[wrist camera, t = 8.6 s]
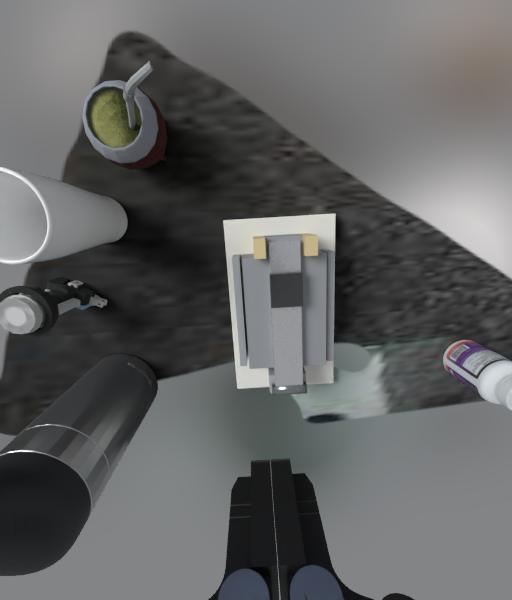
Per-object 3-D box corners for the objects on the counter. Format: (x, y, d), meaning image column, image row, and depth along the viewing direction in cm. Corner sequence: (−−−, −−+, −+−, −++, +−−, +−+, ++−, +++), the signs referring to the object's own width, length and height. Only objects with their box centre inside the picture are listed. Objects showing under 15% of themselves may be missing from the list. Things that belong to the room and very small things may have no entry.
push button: (113, 283, 36) (63, 305, 27) (104, 320, 38) (53, 354, 28) (60, 265, 36) (-10, 280, 26) (53, 303, 37) (-17, 332, 27)
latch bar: (304, 388, 35) (307, 397, 33) (271, 390, 35) (272, 399, 33) (302, 239, 30) (305, 240, 29) (264, 242, 30) (265, 243, 29)
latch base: (330, 377, 40) (346, 409, 33) (237, 382, 40) (235, 415, 33) (332, 214, 35) (352, 211, 28) (224, 220, 35) (217, 219, 28)
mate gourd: (103, 146, 32) (-18, 84, 18) (143, 85, 31) (47, -36, 16) (157, 192, 34) (86, 169, 19) (198, 135, 32) (154, 64, 18)
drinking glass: (142, 242, 35) (66, 255, 21) (90, 253, 35) (-22, 274, 21) (125, 184, 33) (28, 154, 19) (69, 196, 34) (-67, 176, 19)
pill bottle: (479, 371, 40) (548, 416, 31) (440, 376, 41) (497, 422, 31) (481, 336, 39) (554, 371, 30) (442, 341, 39) (502, 378, 30)
